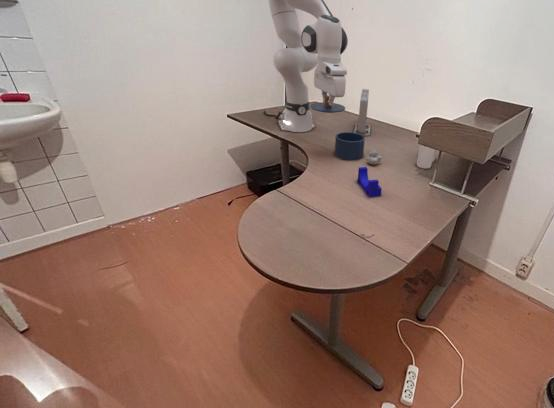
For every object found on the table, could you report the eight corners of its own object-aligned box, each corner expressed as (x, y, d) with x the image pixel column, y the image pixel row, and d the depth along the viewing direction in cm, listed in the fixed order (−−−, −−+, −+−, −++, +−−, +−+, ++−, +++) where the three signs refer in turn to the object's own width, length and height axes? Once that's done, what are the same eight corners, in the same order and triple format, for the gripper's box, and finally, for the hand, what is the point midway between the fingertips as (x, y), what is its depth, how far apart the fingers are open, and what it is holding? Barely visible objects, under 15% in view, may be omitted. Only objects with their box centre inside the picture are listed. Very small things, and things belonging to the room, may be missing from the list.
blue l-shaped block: (380, 195, 106) (382, 180, 102) (369, 197, 104) (370, 182, 101) (368, 180, 115) (369, 166, 112) (357, 181, 113) (358, 167, 110)
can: (419, 161, 135) (424, 136, 129) (432, 165, 133) (438, 140, 126) (413, 166, 130) (418, 140, 124) (427, 170, 128) (433, 144, 121)
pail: (330, 151, 137) (330, 133, 132) (354, 148, 143) (355, 130, 139) (343, 162, 128) (344, 143, 123) (368, 158, 134) (370, 140, 130)
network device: (356, 122, 179) (358, 88, 168) (370, 124, 179) (373, 89, 168) (353, 136, 157) (355, 97, 146) (369, 138, 157) (373, 99, 147)
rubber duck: (365, 161, 131) (367, 143, 127) (380, 162, 131) (382, 144, 127) (366, 166, 126) (368, 148, 122) (381, 167, 127) (384, 149, 123)
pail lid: (305, 106, 122) (304, 93, 119) (335, 104, 129) (335, 91, 126) (319, 115, 112) (319, 101, 109) (351, 112, 119) (352, 99, 116)
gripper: (309, 62, 118) (310, 98, 125) (333, 70, 103) (332, 110, 111) (324, 62, 121) (323, 97, 128) (349, 70, 107) (347, 109, 114)
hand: (328, 103), depth 119 cm, fingers closed on pail lid, 3 cm apart
